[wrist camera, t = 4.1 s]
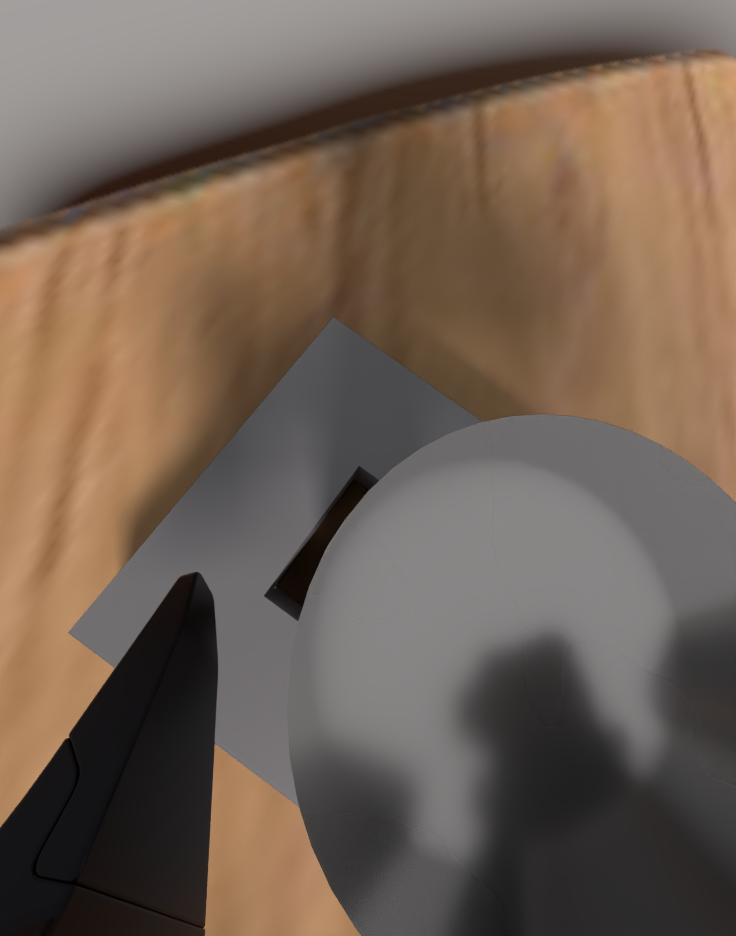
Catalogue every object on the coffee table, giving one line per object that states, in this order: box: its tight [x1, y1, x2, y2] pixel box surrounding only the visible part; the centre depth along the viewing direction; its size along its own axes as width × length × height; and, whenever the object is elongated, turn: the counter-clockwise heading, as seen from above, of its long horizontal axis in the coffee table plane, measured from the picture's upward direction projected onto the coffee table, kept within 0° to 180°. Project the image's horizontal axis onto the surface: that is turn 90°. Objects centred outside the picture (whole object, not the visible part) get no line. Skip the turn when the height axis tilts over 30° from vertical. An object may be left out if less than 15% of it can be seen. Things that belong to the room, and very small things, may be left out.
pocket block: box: [68, 317, 482, 807], centre depth 15 cm, size 14×14×3 cm
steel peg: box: [287, 414, 736, 936], centre depth 10 cm, size 4×4×14 cm
